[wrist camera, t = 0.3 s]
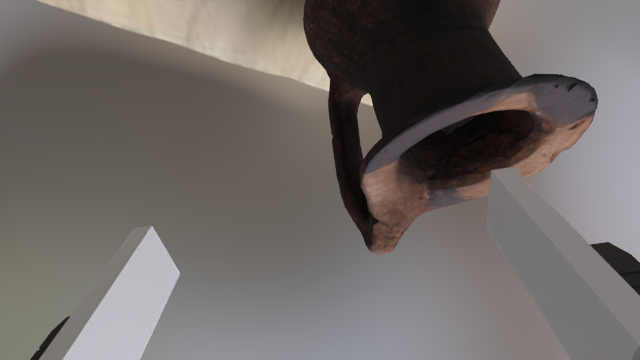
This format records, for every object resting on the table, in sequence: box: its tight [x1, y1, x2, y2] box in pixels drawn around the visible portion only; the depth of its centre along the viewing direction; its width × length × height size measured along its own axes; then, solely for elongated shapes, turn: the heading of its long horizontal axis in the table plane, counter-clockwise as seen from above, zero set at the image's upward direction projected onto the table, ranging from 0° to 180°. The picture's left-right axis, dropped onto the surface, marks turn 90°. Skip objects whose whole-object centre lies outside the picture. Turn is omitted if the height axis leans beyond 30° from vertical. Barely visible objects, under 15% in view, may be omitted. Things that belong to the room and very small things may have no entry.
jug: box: [303, 0, 598, 254], centre depth 30 cm, size 21×18×30 cm
